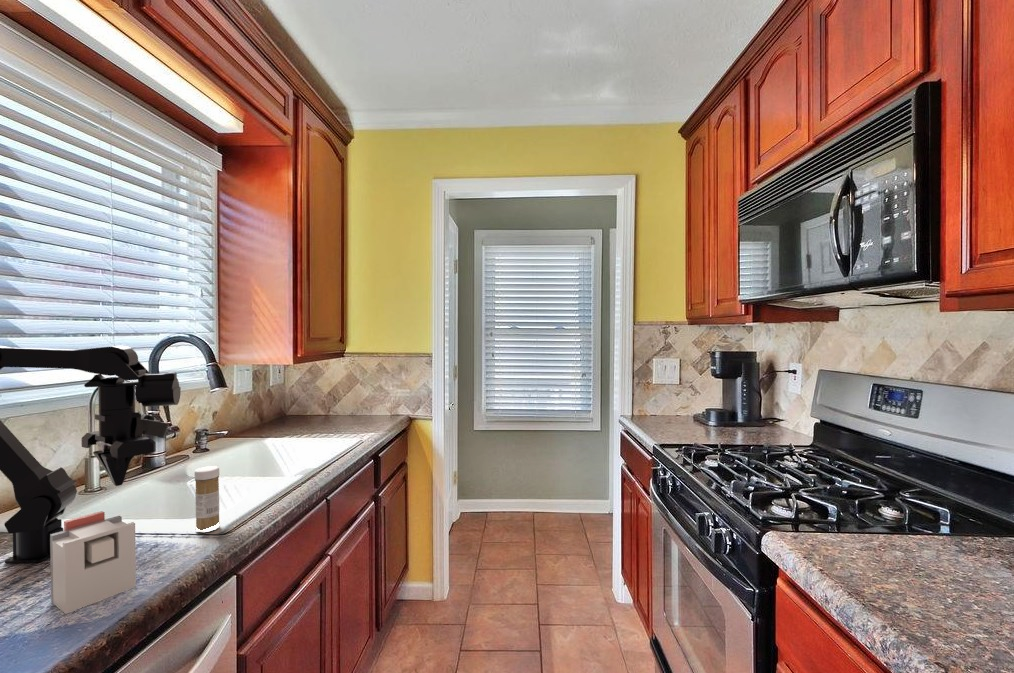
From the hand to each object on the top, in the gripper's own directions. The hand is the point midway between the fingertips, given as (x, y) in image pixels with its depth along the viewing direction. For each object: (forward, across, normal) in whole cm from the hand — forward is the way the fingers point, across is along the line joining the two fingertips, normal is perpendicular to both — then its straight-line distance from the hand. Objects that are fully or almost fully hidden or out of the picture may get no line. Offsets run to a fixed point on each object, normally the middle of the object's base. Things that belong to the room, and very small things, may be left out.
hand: (118, 485), depth 96 cm
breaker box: (+12, -19, +10) cm, 25 cm away
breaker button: (+6, -18, +10) cm, 22 cm away
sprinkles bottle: (+12, -8, -13) cm, 19 cm away
